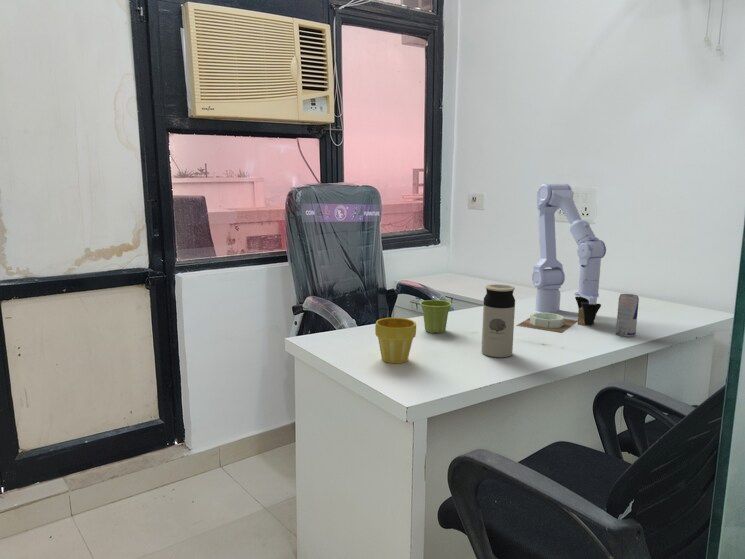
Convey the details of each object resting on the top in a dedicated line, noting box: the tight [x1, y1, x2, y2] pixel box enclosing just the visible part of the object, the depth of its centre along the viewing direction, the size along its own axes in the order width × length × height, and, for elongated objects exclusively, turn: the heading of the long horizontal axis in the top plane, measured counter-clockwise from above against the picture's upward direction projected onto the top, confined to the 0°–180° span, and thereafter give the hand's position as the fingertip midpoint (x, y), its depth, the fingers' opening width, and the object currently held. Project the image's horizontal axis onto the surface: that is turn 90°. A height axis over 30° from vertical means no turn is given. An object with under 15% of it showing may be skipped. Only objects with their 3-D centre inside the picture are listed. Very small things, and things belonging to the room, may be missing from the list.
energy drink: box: [615, 293, 640, 338], centre depth 163 cm, size 5×5×12 cm
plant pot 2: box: [419, 299, 452, 334], centre depth 166 cm, size 9×9×9 cm
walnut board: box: [515, 317, 578, 334], centre depth 173 cm, size 18×14×1 cm
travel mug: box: [481, 283, 516, 359], centre depth 144 cm, size 8×8×18 cm
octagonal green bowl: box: [529, 312, 566, 328], centre depth 172 cm, size 10×10×2 cm
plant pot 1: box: [374, 317, 417, 364], centre depth 139 cm, size 10×10×10 cm
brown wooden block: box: [577, 307, 595, 327], centre depth 172 cm, size 4×4×6 cm
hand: (586, 322), depth 172 cm, fingers open, 7 cm apart
